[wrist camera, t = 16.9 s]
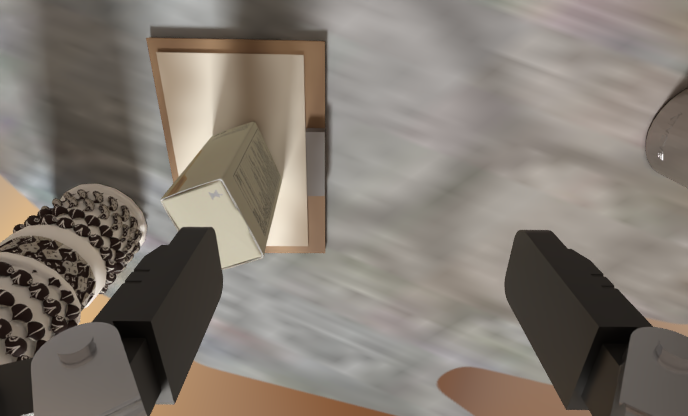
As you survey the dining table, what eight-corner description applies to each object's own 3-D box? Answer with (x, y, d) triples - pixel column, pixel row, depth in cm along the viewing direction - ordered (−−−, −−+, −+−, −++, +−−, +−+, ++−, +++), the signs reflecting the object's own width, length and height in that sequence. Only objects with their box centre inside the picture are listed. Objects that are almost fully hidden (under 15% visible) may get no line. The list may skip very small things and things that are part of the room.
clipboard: (325, 40, 32) (324, 42, 31) (325, 248, 41) (324, 259, 40) (150, 37, 32) (139, 39, 30) (189, 248, 41) (182, 259, 39)
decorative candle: (33, 192, 38) (-397, 460, 16) (122, 168, 37) (-198, 417, 15) (85, 268, 42) (-197, 568, 20) (166, 249, 41) (-32, 538, 19)
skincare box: (210, 135, 35) (153, 195, 24) (256, 119, 34) (219, 172, 23) (242, 198, 37) (205, 277, 26) (285, 184, 37) (265, 259, 26)
